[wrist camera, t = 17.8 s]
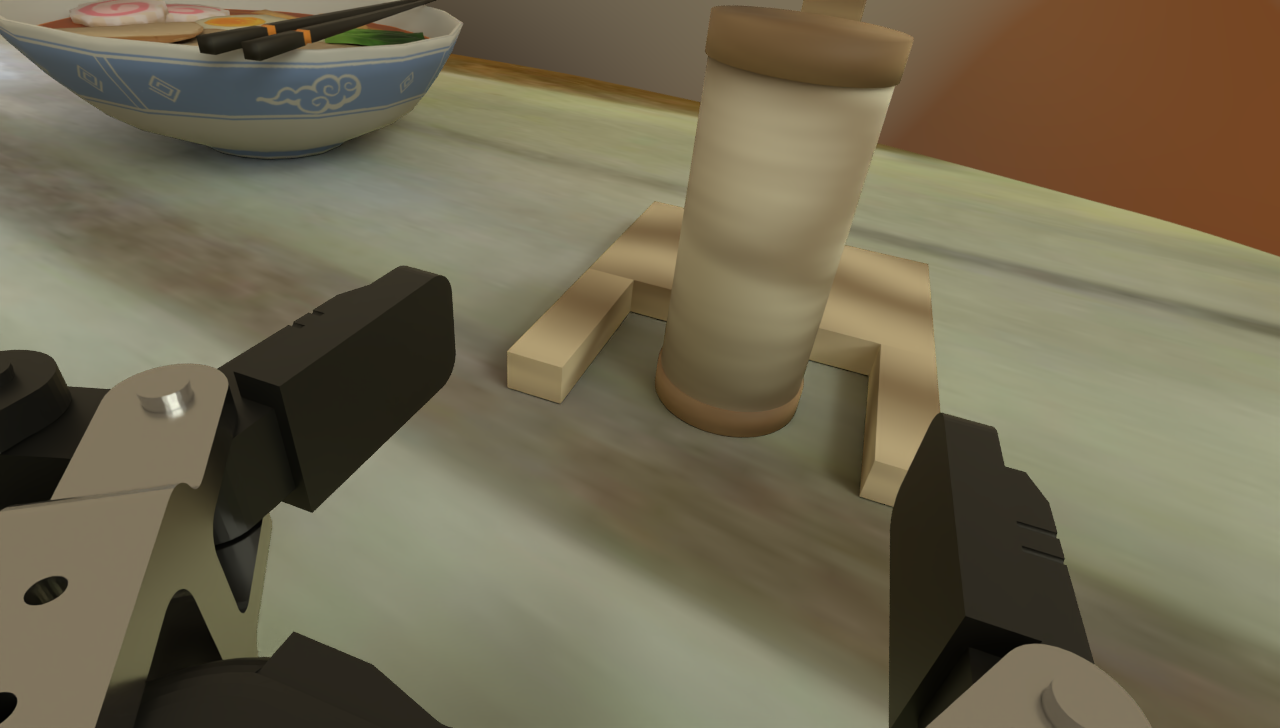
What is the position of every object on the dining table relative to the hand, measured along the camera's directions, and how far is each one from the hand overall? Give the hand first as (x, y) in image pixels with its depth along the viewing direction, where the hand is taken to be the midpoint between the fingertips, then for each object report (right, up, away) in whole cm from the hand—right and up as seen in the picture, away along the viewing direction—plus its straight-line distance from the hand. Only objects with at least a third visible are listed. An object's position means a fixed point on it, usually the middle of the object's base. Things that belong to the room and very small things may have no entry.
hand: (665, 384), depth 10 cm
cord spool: (+3, -1, +13) cm, 13 cm away
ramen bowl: (-23, +14, +29) cm, 40 cm away
